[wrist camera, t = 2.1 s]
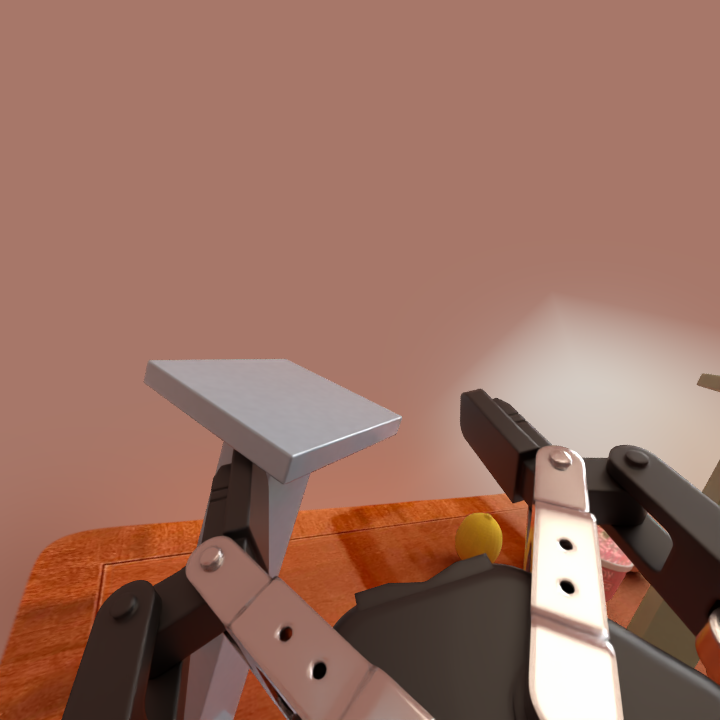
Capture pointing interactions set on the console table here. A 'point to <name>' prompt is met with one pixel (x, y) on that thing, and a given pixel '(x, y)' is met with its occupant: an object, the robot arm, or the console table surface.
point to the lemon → (478, 537)
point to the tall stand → (653, 612)
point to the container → (612, 564)
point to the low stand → (264, 465)
